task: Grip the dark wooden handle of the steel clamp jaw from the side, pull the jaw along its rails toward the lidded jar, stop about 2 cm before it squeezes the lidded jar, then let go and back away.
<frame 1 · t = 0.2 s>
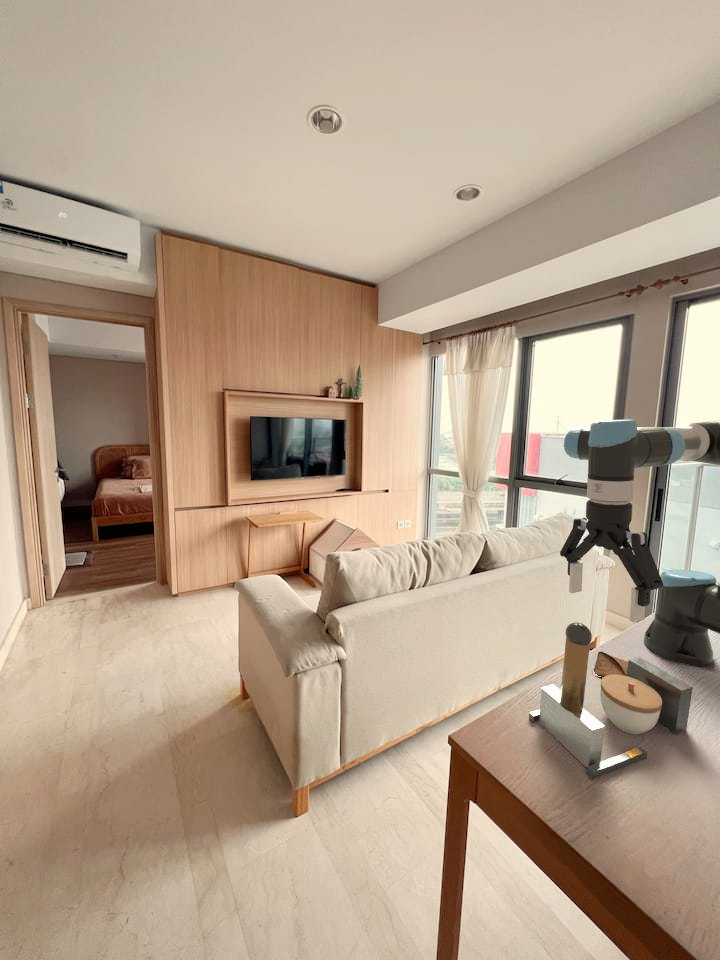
hand: (603, 605, 78), 27 cm above the table, tool pointing down, fingers open, 13 cm apart
sunglasses case: (634, 685, 97), on the table
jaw: (573, 684, 76), point 13 cm above the table, slide at 0.0 cm
lidded jar: (626, 724, 84), on the table
bench: (609, 728, 82), on the table
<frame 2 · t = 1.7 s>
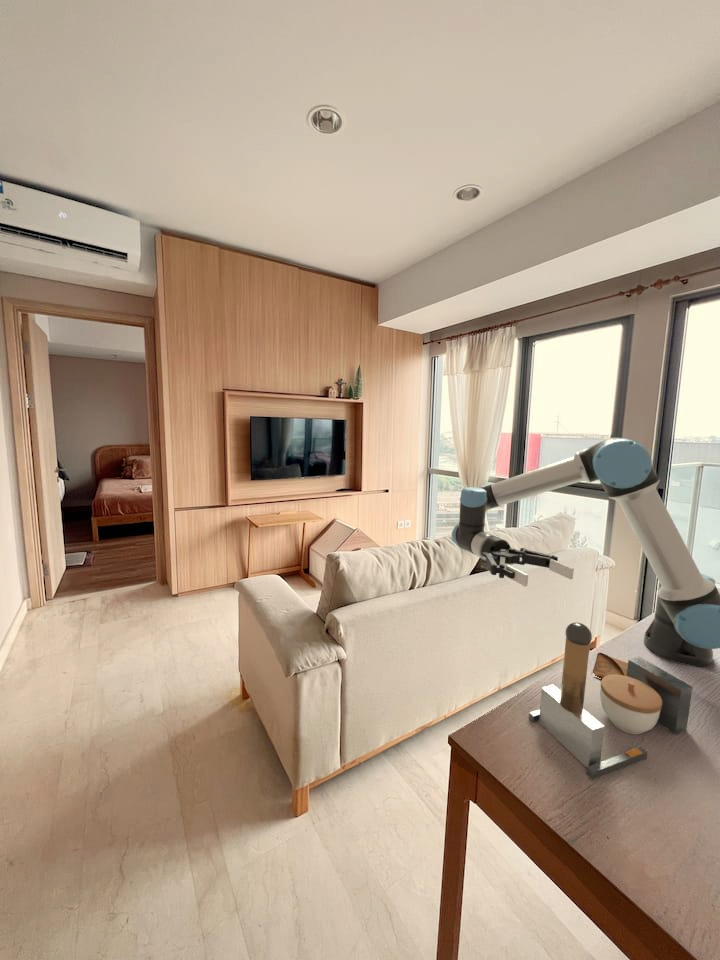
hand: (550, 577, 91), 28 cm above the table, tool horizontal, fingers open, 13 cm apart
nothing on the table moved.
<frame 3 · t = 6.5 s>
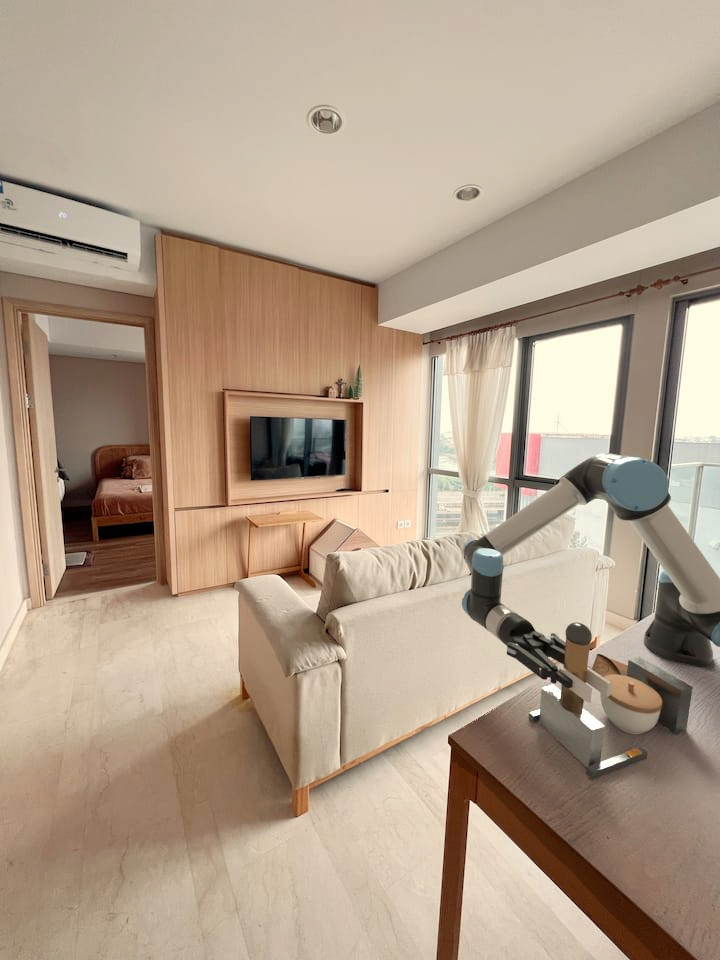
hand: (599, 692, 71), 15 cm above the table, tool horizontal, fingers closed on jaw, 4 cm apart
sunglasses case: (631, 688, 96), on the table
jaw: (573, 684, 76), point 13 cm above the table, slide at 0.0 cm, touching gripper
everything else where it was.
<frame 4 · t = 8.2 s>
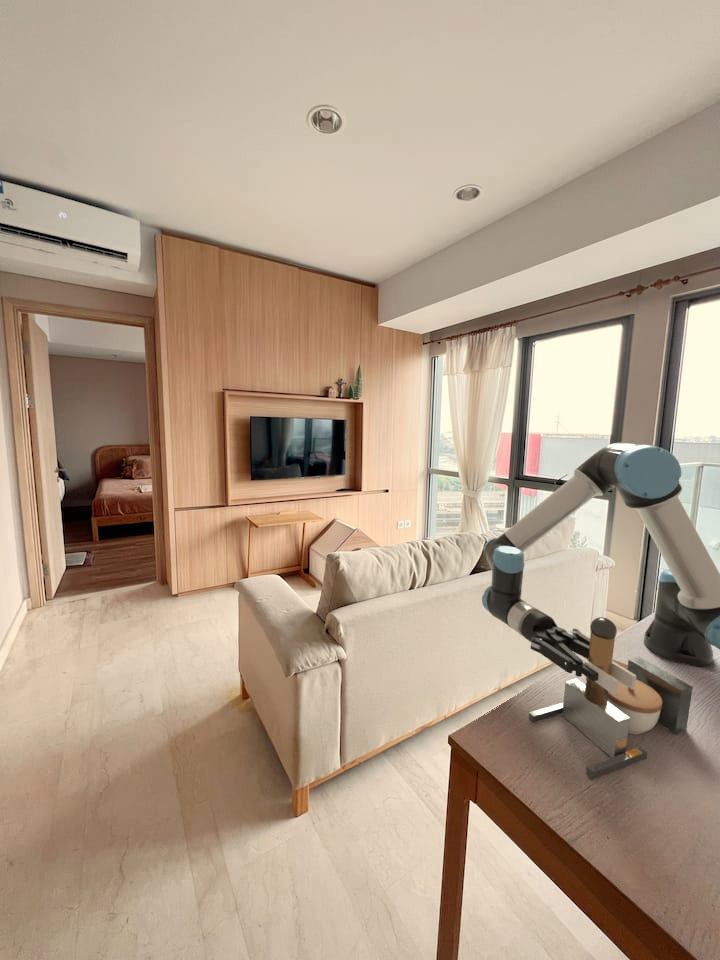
hand: (625, 684, 73), 15 cm above the table, tool horizontal, fingers closed on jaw, 4 cm apart
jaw: (597, 677, 78), point 13 cm above the table, slide at 6.5 cm, touching gripper
everything else where it was.
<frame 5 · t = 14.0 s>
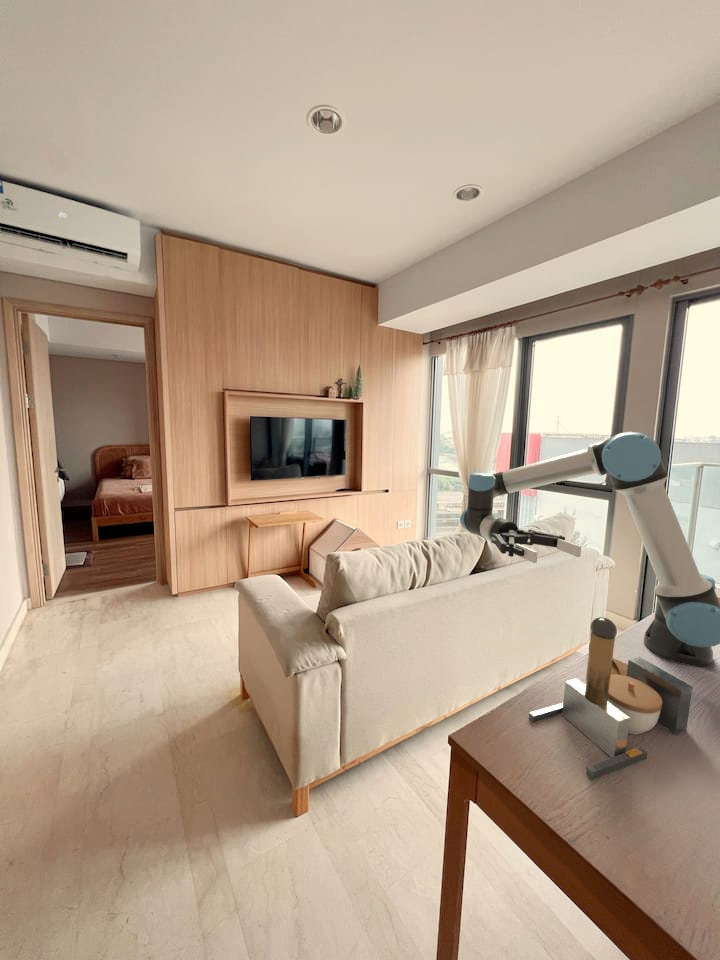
hand: (558, 554, 94), 32 cm above the table, tool horizontal, fingers open, 13 cm apart
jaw: (598, 677, 78), point 13 cm above the table, slide at 6.5 cm
everything else where it was.
at the end: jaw slide at 6.5 cm; lidded jar moved 0.2 cm from its start; the gripper is holding nothing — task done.
